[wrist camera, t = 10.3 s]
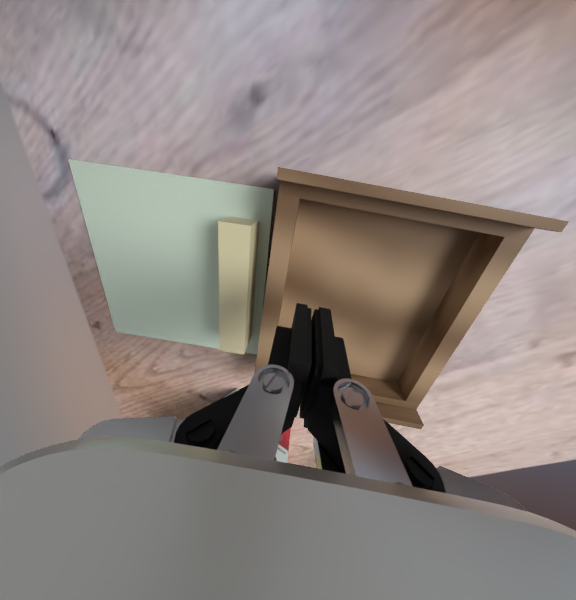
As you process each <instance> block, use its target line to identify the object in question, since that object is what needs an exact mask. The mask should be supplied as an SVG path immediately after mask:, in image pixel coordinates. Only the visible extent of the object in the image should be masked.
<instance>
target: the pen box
mask: <svg viewBox="0 0 576 600" xmlns="http://www.w3.org/2000/svg"><path fill="white" fill-rule="evenodd" d="M277 179H278V180H280V185H279V193H278V200H277V208H276V215H275V223H274V230H273V238H272V246H271V253H270V261H269V268H268V276H267V283H266V291H265V298H264V306H263V314H262V321H261V329H260V336H259V344H258V351H257V359H256V366H255V373H256V371H257V370H258V369H260V368H261V367H263V366H266V365H268V362H269V358H270V353H271V349H272V345H273V340H274V336H275V332H276V327H277V326H282V327H287V328H291V327H292V323H293V318H294V313H295V308H296V304H297V303H301V304H306V305H308V308H311V313H312V316H313V312H314V309H317V310H318V309H319V307H322V308H327V309H331V315H332V321H333V328H334V334H335V337H341V338H343V340H344V344H345V349H346V354H347V359H348V363H349V368H350V373H351V378H352V379H353V380H356V381H358V382H360V383H361V384H363V385H364V386H365V387H366V388H367V389H368V390H369V391H370V392H371V394H372V396H373V398H374V400H375V402H376V404H377V407H378V409H379V411H380V414H381V416H382V418H383V419H384V420H385V421H386V422H387V423H392V424H397V425H402V426H408V427H413V428H418V429H421V428H422V427H423V426H424V425H423V423H422V421H421V419H420V417H419V414H418V412H417V410H416V409H417V407H418V406H419V404H420V403H421V401H422V400H423V398H424V397H425V395H426V394H427V392H428V391H429V389H430V387H431V386H432V384H433V383H434V381H435V380H436V378H437V377H438V375H439V374H440V372H441V371H442V369H443V368H444V366H445V365H446V363H447V361H448V360H449V358H450V357H451V355H452V354H453V352H454V351H455V349H456V348H457V346H458V345H459V343H460V342H461V340H462V338H463V337H464V335H465V334H466V332H467V331H468V329H469V328H470V326H471V325H472V323H473V322H474V320H475V319H476V317H477V316H478V314H479V312H480V311H481V309H482V308H483V306H484V305H485V303H486V302H487V300H488V299H489V297H490V296H491V294H492V293H493V291H494V290H495V288H496V286H497V285H498V283H499V282H500V280H501V279H502V277H503V276H504V274H505V273H506V271H507V270H508V268H509V267H510V265H511V264H512V262H513V260H514V259H515V257H516V256H517V254H518V253H519V251H520V250H521V248H522V247H523V245H524V244H525V242H526V241H527V239H528V237H529V236H530V234H531V233H532V231H533V230H534V228H537V229H543V230H550V231H556V232H562V230H563V229H564V228H565V226H566V225H567V223H568V221H563V220H557V219H552V218H547V217H541V216H536V215H531V214H525V213H520V212H515V211H509V210H504V209H499V208H493V207H488V206H483V205H477V204H472V203H467V202H461V201H456V200H451V199H445V198H440V197H435V196H429V195H424V194H419V193H413V192H408V191H402V190H397V189H392V188H386V187H381V186H376V185H370V184H365V183H360V182H354V181H349V180H344V179H338V178H333V177H328V176H322V175H317V174H312V173H306V172H301V171H296V170H290V169H285V168H280V167H278V172H277Z"/></svg>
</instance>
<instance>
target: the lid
mask: <svg viewBox="0 0 576 600" xmlns="http://www.w3.org/2000/svg"><path fill="white" fill-rule="evenodd" d="M68 160H69V164H70V167H71V171H72V175H73V178H74V182H75V186H76V189H77V193H78V197H79V200H80V204H81V208H82V211H83V215H84V219H85V222H86V226H87V230H88V233H89V237H90V241H91V244H92V248H93V252H94V255H95V259H96V263H97V266H98V270H99V274H100V277H101V281H102V285H103V288H104V292H105V296H106V299H107V303H108V307H109V310H110V314H111V318H112V321H113V325H114V329H115V332H119V333H125V334H131V335H137V336H144V337H150V338H156V339H162V340H169V341H175V342H181V343H187V344H194V345H200V346H206V347H212V348H219V349H220V351H224V352H230V353H237V354H243V355H244V354H245V353H250V354H256V355H257V351H258V344H259V336H260V329H261V321H262V314H263V306H264V298H265V288H266V277H267V267H268V256H269V245H270V234H271V223H272V212H273V202H274V191H275V189H268V188H262V187H255V186H248V185H241V184H234V183H228V182H221V181H214V180H207V179H200V178H194V177H187V176H180V175H173V174H166V173H160V172H153V171H146V170H139V169H132V168H126V167H119V166H112V165H105V164H99V163H92V162H85V161H78V160H71V159H68Z"/></svg>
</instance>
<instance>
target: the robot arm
mask: <svg viewBox="0 0 576 600" xmlns="http://www.w3.org/2000/svg"><path fill="white" fill-rule="evenodd" d="M299 406H300V418H304V427H305V428H308V430H309V431H310V433H311V434H312V435H313V436H314V439H313V444H314V451H315V458H316V465H317V468H311V467H306V466H301V465H295V464H290V463H285V462H279V461H274V459H275V455H276V452H277V448H278V444H279V441H280V437H281V434H283V433H284V432H285V431H287V430H288V429H289V428H291V427H292V424H293V421H294V418H295V417H296V416H297V413H298V410H299ZM0 600H576V531H575V530H573V529H570V528H568V527H565V526H563V525H561V524H559V523H557V522H554V521H552V520H550V519H547V518H544V517H541V516H539V515H536V514H532V513H530V512H527V511H526V510H525V509H524V508H523V507H522V506H521V505H520V504H519V503H518V502H516V501H515V500H514V499H513V498H512V497H510V496H508V495H506V494H505V493H503V492H501V491H499V490H496V489H494V488H491V487H489V486H487V485H484V484H482V483H479V482H477V481H475V480H472V479H470V478H468V477H465V476H463V475H461V474H458V473H456V472H453V471H451V470H449V469H446V468H444V467H442V466H439V467H438V468H435V466H434V465H433V464H432V463H431V462H430V461H429V460H428V459H427V458H426V457H425V456H424V455H423V454H422V453H421V452H420V451H419V450H417V449H416V448H415V447H414V446H413V445H412V444H411V443H410V442H409V441H407V440H406V439H405V438H404V437H403V436H402V435H401V434H400V433H398V432H397V431H396V430H395V429H394V428H393V427H392V426H391V425H390V424H388V423H387V422H386V421H385V420H384V419H383V418H382V416H381V414H380V411H379V409H378V407H377V404H376V402H375V400H374V398H373V396H372V394H371V392H370V391H369V390H368V389H367V388H366V387H365V386H364V385H363V384H361V383H360V382H358V381H356V380H353V379H352V378H351V373H350V368H349V363H348V359H347V354H346V349H345V344H344V340H343V338H341V337H335V334H334V328H333V321H332V315H331V309H327V308H322V307H319V309H318V310H317V309H314V312H313V316H312V313H311V308H308V305H306V304H301V303H297V304H296V308H295V313H294V318H293V323H292V327H291V328H287V327H282V326H277V327H276V332H275V336H274V340H273V345H272V349H271V353H270V358H269V362H268V365H266V366H263V367H261V368H260V369H258V370H257V371H256V373H255V374H254V376H253V378H252V380H251V382H250V384H249V385H247V386H246V387H244V388H242V389H240V390H238V391H236V392H234V393H232V394H230V395H228V396H226V397H224V398H222V399H220V400H218V401H216V402H214V403H213V404H211V405H209V406H207V407H205V408H203V409H201V410H199V411H197V412H195V413H193V414H192V415H190V416H189V417H187V418H186V419H176V416H168V417H146V418H123V419H110V420H105V421H102V422H100V423H98V424H96V425H94V426H92V427H91V428H89V429H88V430H87V431H86V432H84V433H83V434H82V436H81V437H80V438H79V439H78V440H73V441H69V442H64V443H60V444H56V445H52V446H49V447H45V448H42V449H39V450H36V451H33V452H30V453H27V454H25V455H22V456H20V457H18V458H16V459H14V460H11V461H9V462H7V463H6V464H4V465H3V466H1V467H0Z"/></svg>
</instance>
